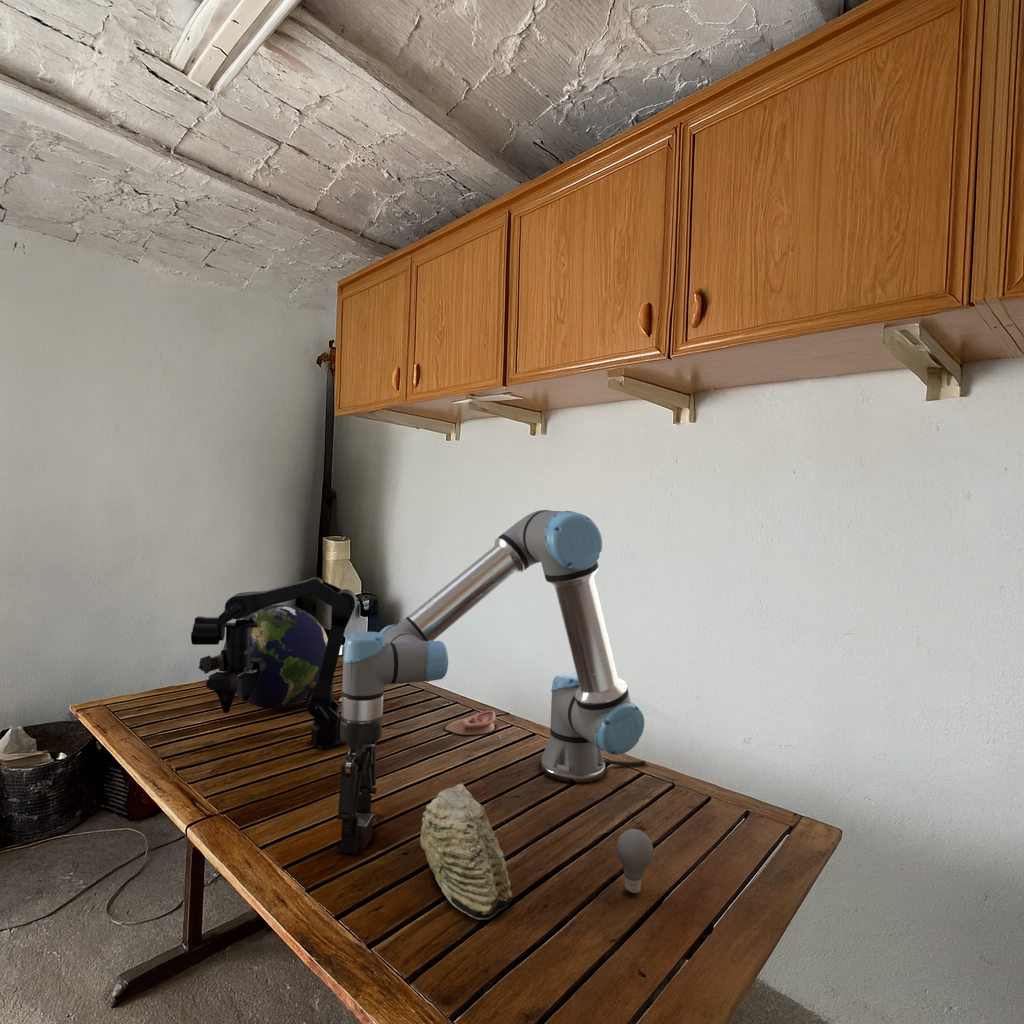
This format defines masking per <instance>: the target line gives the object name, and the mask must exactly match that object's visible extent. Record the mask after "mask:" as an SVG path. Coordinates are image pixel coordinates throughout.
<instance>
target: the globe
mask: <svg viewBox="0 0 1024 1024" xmlns="http://www.w3.org/2000/svg"><path fill="white" fill-rule="evenodd" d="M252 616H254V618H255V619H256V620H257V621H259V622H260V624H259V625H258V626H257V627H251V645H250V647H254V651H252V652H250V658H262V659H263V660H264V661H265V662H266V666H265V670H263V673H262V674H261V676H260V678H259V679H258V681H257V683H256V685H255V687H254V689H253V691H252V693H251V695H250V697H249V699H248V701H244V702H245V703H247V704H248V705H251V706H254V707H258V708H262V709H282V708H285V707H289V706H293V705H295V704H298V703H299V702H301V701H303V700H304V699H306V698H307V695H308V690H309V686H310V683H311V681H314V682H317V680H318V677H319V674H320V670H321V666H322V662H323V658H324V654H325V650H326V646H327V641H328V635H327V633H326V631H325V629H324V627H323V626H322V624H321V623H320V621H318V619H317V618H315V616H314V615H312V614H311V613H310V612H308V611H305V610H304V609H302V608H299V607H297V606H292V605H290V604H289V605H288V604H275V605H271V606H267V607H265V608H263V609H261V610H259V611H257V612H255V613H253V614H250V615H248V616H246V617H244V618H242V619H250V618H251V617H252ZM225 648H226V641H225V642H224V645H223V649H225ZM222 672H226V671H222ZM226 673H227V672H226ZM236 686H238V688H237V691H236V693H235V696H237V697H238V698H239V699H240V700H242V701H243V698H242V687H241V679H240V678H239V676H238V682H237V685H236Z"/></svg>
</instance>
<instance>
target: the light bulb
mask: <svg viewBox="0 0 1024 1024" xmlns="http://www.w3.org/2000/svg"><path fill="white" fill-rule="evenodd" d="M615 849H616V854H617V857H618V859H619V861H620V863H621V865H622V867H623V873H624V874H623V875H624V876H625V878H624V888H625V890H627V891H628V892H630V893H634V894H635V893H639V892H640V891H641V889H642V887H641V886H642V879H643V877H644V875H645V871H646V868H647V867H648V866H649V864H650V863H651V861H652V859H653V855H654V847H653V843H652V841H651V838H649V836H648V835H647V834H646V833H645V832H643V831H642V830H641V829H636V828H629V829H627V830H625V831H623V832H622V833H621V834H620V835H619V837H618V839H617V841H616V847H615Z"/></svg>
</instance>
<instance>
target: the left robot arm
mask: <svg viewBox="0 0 1024 1024" xmlns="http://www.w3.org/2000/svg"><path fill="white" fill-rule="evenodd" d="M307 596H308V597H309V596H314V597H316V598H318V599H319V600H320V601H322V602H323V603H325V604H326V605H328V606H330V607H331V612H330V613H331V614H330V615H331V616H330V617H331V618H330V630H329V634H328V636H327V638H328V641H327V646H326V650H325V654H324V658H323V662H322V666H321V670H320V674H319V677H318V680H317V682H314V681H311V683H310V686H309V690H308V695H307V697H306V698H305V701H304V704H305V705H306V711H307V713H308V714H309V715H310V716H311V717H313V721H312V722H313V723H312V727H311V730H310V731H311V732H310V733H311V735H310V739H309V740H308V743H309V744H310V745H313V746H314V747H316V748H318V749H320V750H327V749H329V748H333V747H336V746H340V745H343V744H344V742H343V741H342V740H341V739H340V722H341V719H342V717H340V712H341V705H340V703H338V702H337V701H336V700H335V699H333V695H334V694H333V693H334V677H335V674H336V673H335V671H336V668H337V664H338V660H339V656H340V652H341V648H342V643H343V640H344V635H345V632H346V631H345V630H346V628H347V626H348V624H349V622H350V619H351V617H352V615H353V613H354V611H355V608H356V605H357V596H356V595H355V592H353V591H352V590H350V589H347V588H344V589H341V588H340V587H338V586H336V585H333V584H331V583H329V582H326V581H325V580H323V579H322V578H321V577H318V576H313V577H310V578H309V579H306V580H301V581H298V582H293V583H289V584H287V585H283V586H279V587H276V588H272V589H268V590H261V591H259V590H257V591H245V592H237V593H236V594H234V595H232V596H231V597H229V598H228V599H227V601H226V602H225V604H224V611H223V612H222V613H220V615H218V617H216V616H215V617H212V616H209V617H208V616H196V617H195V618H194V623H193V625H192V630H191V632H190V642H191V644H192V645H193V646H197V645H198V646H203V645H204V646H217V645H219V644H220V642H221V641H224V640H225V642H226V648H225V649H224V648H223V649H221V650H220V654H218V655H214V656H210V655H207V656H203V657H201V658H199V662H198V663H199V665H198V669H199V670H200V671H202V672H203V673H204V675H206V674H209V673H210V672H214V671H216V670H218V671H217V672H214V673H212V674H210V675H208V677H206V678H205V686H204V687H205V688H206V689H209V690H210V691H213V692H214V693H215V694H216V695H217V697H218V700H219V703H220V706H221V708H222V711H223V713H224V714H229V713H230V710H231V708H232V706H233V702H234V699H235V696H236V694H235V693H236V691H237V688H238V686H236V685H237V682H238V676H239V678H240V679H241V687H242V698H243V700H242V701H243V702H245V701H248V699H249V697H250V695H251V693H252V691H253V689H254V687H255V685H256V683H257V681H258V679H259V678H260V676H261V674H262V673H263V670H265V666H266V662H265V661H264V660H263V659H262V658H250V652H252V651H254V647H250V645H251V627H257V626H258V625H259V624H260V622H259V621H257V620H256V619H255V618H254V616H252V617H251V618H250V619H243V618H244V617H246V616H248V615H250V614H253V613H255V612H257V611H259V610H261V609H263V608H265V607H267V606H272V605H279V604H282V603H286V602H290V601H293V600H297V599H300V598H305V597H307ZM232 620H235V622H231V621H232ZM223 671H226V672H227V673H226V672H223Z"/></svg>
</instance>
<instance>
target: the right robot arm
mask: <svg viewBox="0 0 1024 1024" xmlns="http://www.w3.org/2000/svg"><path fill="white" fill-rule="evenodd" d="M602 551H603V537H602V532H601V530H600V528H599V526H598V524H596V522H595V521H594V520H593V519H592V518H590V517H588V516H587V515H585V514H582V513H579V512H577V511H572V510H549V509H542V510H541V509H540V510H535V511H534V512H531V513H529V514H527V515H525V516H524V517H522V518H521V519H520V520H518V521H517V522H515V523H514V524H513V525H511V527H509V528H508V529H507V530H505V531H504V532H503V533H502V534H501V535H499V536H498V537H496V538H495V540H494V546H492V547H491V548H490V549H489V550H488V551H487V552H485V553H484V554H482V556H480V557H479V558H478V559H477V560H476V561H474V562H473V563H472V564H470V566H467V568H466V569H464V570H463V571H462V572H461V573H459V574H458V575H457V576H456V577H454V578H453V579H452V580H451V581H449V582H448V583H446V585H445V586H443V587H442V588H441V589H440V590H438V591H437V592H436V593H435V594H434V595H432V596H431V597H430V598H429V599H428V600H426V601H425V602H424V603H423V604H421V605H420V606H419V607H417V608H416V609H415V610H414V611H413V612H411V613H410V614H409V615H408V616H407V617H405V618H404V619H402V620H401V621H400V622H399V623H397V624H389V625H386V626H385V627H384V628H382V629H381V630H380V631H379V632H377V631H356V632H352V633H350V634H349V635H348V636H346V638H345V640H344V641H345V642H344V649H343V657H342V684H341V685H342V686H341V697H340V698H339V700H338V702H339V704H341V706H340V716H341V722H340V739H341V740H342V741H343V742H344V743H345V744H347V745H348V750H347V751H346V754H345V760H346V761H342V762H341V764H340V773H341V774H340V775H341V777H340V787H339V796H338V797H339V798H338V811H337V814H336V818H337V820H340V821H341V829H342V833H340V853H341V854H343V853H344V854H354V855H356V853H357V852H358V848H357V835H358V816H357V813H364V814H372V798H373V795H376V794H377V792H378V791H377V790H378V789H377V787H375V786H376V784H377V743H378V741H379V740H380V739H381V738H382V732H383V718H382V716H383V714H384V691H385V690H384V689H385V685H394V684H408V683H423V682H426V683H429V682H434V681H439V680H443V679H444V678H445V677H446V675H447V673H448V670H449V652H448V648H447V646H446V644H445V643H444V642H443V641H441V640H436V639H437V638H439V636H441V635H442V634H443V633H444V632H446V631H447V630H448V629H449V628H450V627H452V626H453V625H454V624H455V623H456V622H458V621H459V620H460V619H461V618H462V617H464V616H465V615H466V614H467V613H468V612H470V611H471V610H472V609H473V608H475V606H477V605H478V604H479V603H481V601H483V600H484V599H485V598H487V597H488V596H489V595H490V594H491V593H493V592H494V591H495V590H497V588H498V587H500V586H501V585H502V584H503V583H505V582H506V581H508V580H509V578H511V577H512V576H513V575H514V574H515V573H524V572H525V571H526V570H527V569H528V568H530V567H531V566H533V565H536V564H539V563H540V564H541V567H542V571H543V575H544V579H545V582H547V583H548V584H551V585H553V587H554V590H555V594H556V598H557V601H558V606H559V609H560V614H561V618H562V622H563V625H564V630H565V633H566V637H567V641H568V646H569V650H570V653H571V658H572V660H573V666H574V669H575V670H574V671H575V672H566V673H565V672H564V673H560V674H558V675H557V674H556V675H555V676H554V678H553V679H552V685H551V690H550V692H551V701H550V702H551V703H550V704H551V706H550V726H549V727H550V730H549V737H548V741H547V742H546V745H545V748H544V751H543V753H542V757H541V760H540V765H541V766H540V769H541V770H542V772H543V773H544V774H545V775H547V776H548V777H550V778H552V779H555V780H557V781H561V782H566V783H573V784H585V783H591V782H596V781H597V780H600V779H602V777H604V776H605V770H606V769H605V768H606V765H613V766H614V765H615V766H624V767H626V766H627V767H631V766H644V765H646V761H645V760H638V761H622V760H621V761H620V760H612V759H604V756H603V752H606V753H608V754H609V755H615V756H618V755H623V754H625V753H628V752H629V751H631V750H632V749H634V747H636V746H637V744H638V743H639V741H640V738H641V737H642V736H643V733H644V730H645V726H646V725H645V724H646V723H645V721H646V720H645V715H644V713H643V711H642V709H641V708H640V707H639V706H638V705H637V704H636V703H633V702H632V701H631V697H630V693H629V689H628V685H627V682H626V681H625V680H623V679H622V678H619V677H618V673H617V669H616V664H615V661H614V657H613V652H612V648H611V644H610V639H609V635H608V632H607V628H606V627H607V626H606V623H605V619H604V613H603V610H602V606H601V601H600V597H599V593H598V589H597V585H596V582H595V575H596V573H598V570H599V563H598V560H599V559H600V557H601V555H600V554H601V552H602ZM344 743H343V744H344ZM602 751H603V752H602Z"/></svg>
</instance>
